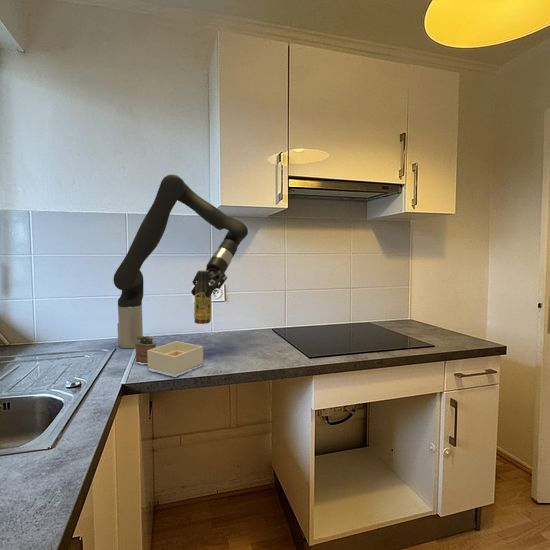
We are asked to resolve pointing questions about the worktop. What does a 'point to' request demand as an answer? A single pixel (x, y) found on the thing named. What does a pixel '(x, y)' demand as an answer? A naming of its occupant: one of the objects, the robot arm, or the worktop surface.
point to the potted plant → (143, 348)
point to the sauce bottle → (202, 299)
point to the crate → (175, 357)
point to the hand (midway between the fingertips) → (199, 295)
